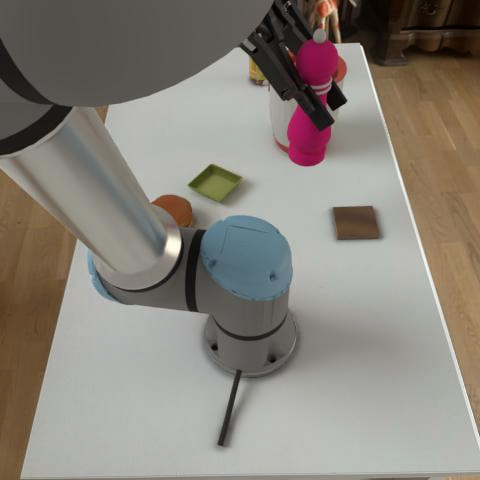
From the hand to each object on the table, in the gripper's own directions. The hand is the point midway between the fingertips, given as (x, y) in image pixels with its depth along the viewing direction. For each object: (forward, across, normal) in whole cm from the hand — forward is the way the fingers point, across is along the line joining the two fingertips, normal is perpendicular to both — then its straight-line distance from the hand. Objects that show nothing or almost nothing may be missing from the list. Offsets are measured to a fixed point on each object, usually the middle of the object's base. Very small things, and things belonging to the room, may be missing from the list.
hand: (333, 116), depth 68 cm
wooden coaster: (+21, +3, +12) cm, 25 cm away
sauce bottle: (-6, +43, +40) cm, 59 cm away
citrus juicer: (+7, +23, +27) cm, 36 cm away
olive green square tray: (0, +1, +33) cm, 33 cm away
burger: (-2, -12, +36) cm, 38 cm away
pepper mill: (+3, 0, +9) cm, 9 cm away
